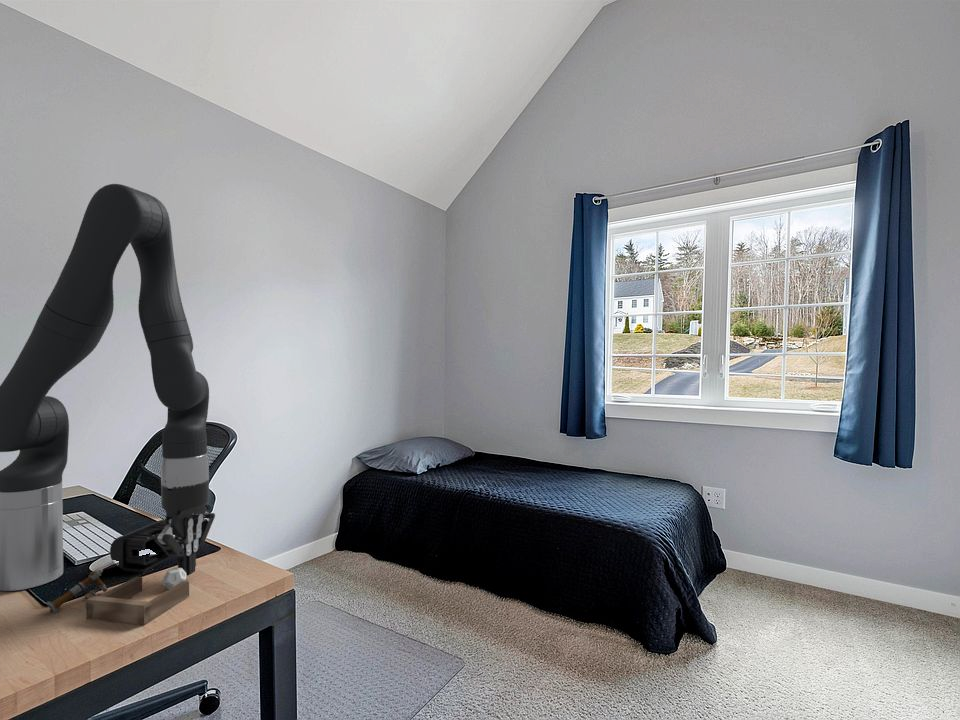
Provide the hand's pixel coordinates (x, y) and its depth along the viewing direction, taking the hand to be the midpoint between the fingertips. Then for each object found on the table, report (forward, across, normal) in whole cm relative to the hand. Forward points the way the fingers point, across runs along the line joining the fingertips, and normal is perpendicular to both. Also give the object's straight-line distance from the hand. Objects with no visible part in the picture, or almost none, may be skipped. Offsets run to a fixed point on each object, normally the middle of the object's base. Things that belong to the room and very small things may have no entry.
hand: (187, 573), depth 92 cm
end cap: (+1, -6, -14) cm, 15 cm away
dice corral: (+1, +10, 0) cm, 10 cm away
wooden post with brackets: (+1, +10, -12) cm, 16 cm away
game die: (+1, +3, 0) cm, 3 cm away
